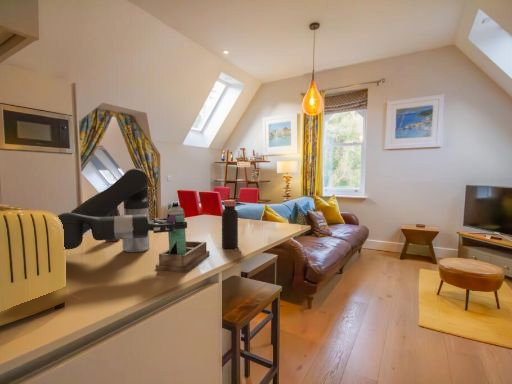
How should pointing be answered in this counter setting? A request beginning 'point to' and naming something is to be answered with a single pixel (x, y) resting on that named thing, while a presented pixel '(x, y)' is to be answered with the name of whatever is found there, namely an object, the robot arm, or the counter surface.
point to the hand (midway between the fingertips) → (184, 223)
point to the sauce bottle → (113, 213)
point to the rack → (183, 258)
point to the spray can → (176, 230)
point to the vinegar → (229, 225)
